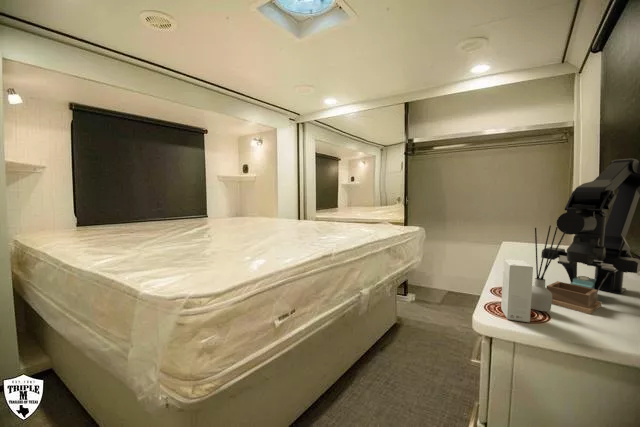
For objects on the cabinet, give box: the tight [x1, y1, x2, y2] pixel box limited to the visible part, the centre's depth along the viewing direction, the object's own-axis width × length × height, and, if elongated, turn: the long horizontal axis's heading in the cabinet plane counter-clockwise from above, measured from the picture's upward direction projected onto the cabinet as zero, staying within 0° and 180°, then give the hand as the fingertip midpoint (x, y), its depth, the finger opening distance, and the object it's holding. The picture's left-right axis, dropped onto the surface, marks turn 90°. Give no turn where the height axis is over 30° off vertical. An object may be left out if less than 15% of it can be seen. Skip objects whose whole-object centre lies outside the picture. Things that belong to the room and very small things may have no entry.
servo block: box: [569, 275, 596, 289], centre depth 75 cm, size 9×4×5 cm, turn 123°
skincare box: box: [500, 259, 534, 323], centre depth 61 cm, size 6×4×12 cm
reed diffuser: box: [531, 225, 566, 312], centre depth 63 cm, size 10×7×20 cm
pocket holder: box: [546, 280, 602, 315], centre depth 69 cm, size 9×9×4 cm
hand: (584, 289), depth 75 cm, fingers closed on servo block, 4 cm apart
